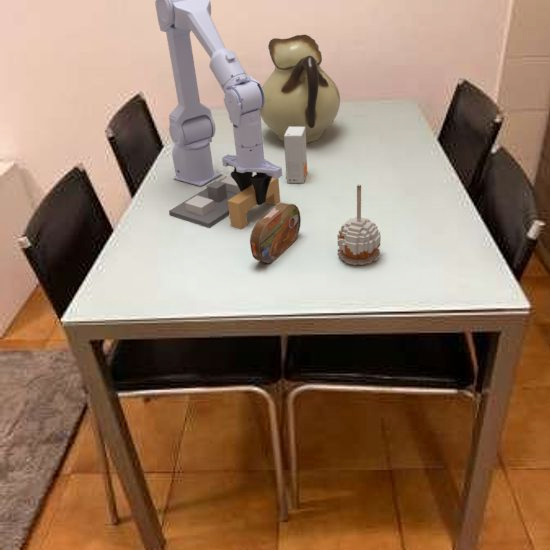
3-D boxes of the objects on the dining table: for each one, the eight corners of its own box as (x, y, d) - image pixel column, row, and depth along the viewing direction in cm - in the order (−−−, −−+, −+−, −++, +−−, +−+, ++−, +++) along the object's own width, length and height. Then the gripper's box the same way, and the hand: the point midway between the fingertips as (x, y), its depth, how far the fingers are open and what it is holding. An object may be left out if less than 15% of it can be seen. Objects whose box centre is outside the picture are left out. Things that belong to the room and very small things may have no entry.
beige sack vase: (290, 116, 180) (284, 29, 166) (359, 129, 168) (359, 36, 154) (244, 143, 166) (234, 50, 152) (316, 159, 154) (312, 60, 139)
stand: (169, 214, 134) (166, 196, 131) (226, 180, 147) (224, 163, 144) (209, 227, 128) (206, 209, 125) (265, 190, 141) (263, 172, 138)
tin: (263, 271, 113) (259, 232, 108) (249, 267, 114) (245, 229, 109) (303, 234, 123) (300, 197, 118) (289, 231, 124) (287, 194, 120)
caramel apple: (348, 242, 119) (348, 173, 110) (385, 250, 115) (387, 179, 107) (331, 261, 114) (329, 190, 105) (369, 271, 110) (370, 198, 102)
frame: (230, 225, 128) (227, 200, 124) (269, 198, 137) (267, 174, 133) (241, 229, 126) (238, 203, 123) (280, 201, 135) (278, 177, 132)
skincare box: (304, 183, 142) (301, 135, 135) (286, 183, 143) (283, 135, 136) (308, 172, 147) (305, 126, 140) (290, 172, 148) (288, 126, 141)
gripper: (209, 143, 123) (217, 201, 131) (265, 155, 116) (270, 217, 124) (231, 131, 128) (238, 188, 136) (286, 143, 120) (290, 203, 128)
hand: (255, 201), depth 130 cm, fingers closed on frame, 3 cm apart
